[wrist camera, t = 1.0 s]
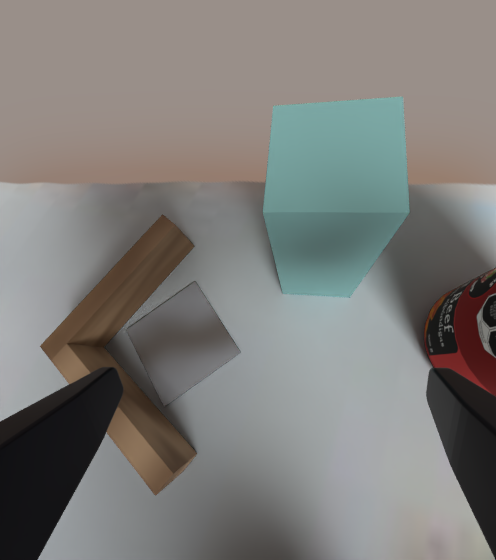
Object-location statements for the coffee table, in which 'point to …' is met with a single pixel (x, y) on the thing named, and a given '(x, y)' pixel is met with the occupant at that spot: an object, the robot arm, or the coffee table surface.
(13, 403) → the coffee table surface
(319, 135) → the teal block
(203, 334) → the corner arena
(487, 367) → the canned food
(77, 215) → the coffee table surface
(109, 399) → the robot arm
